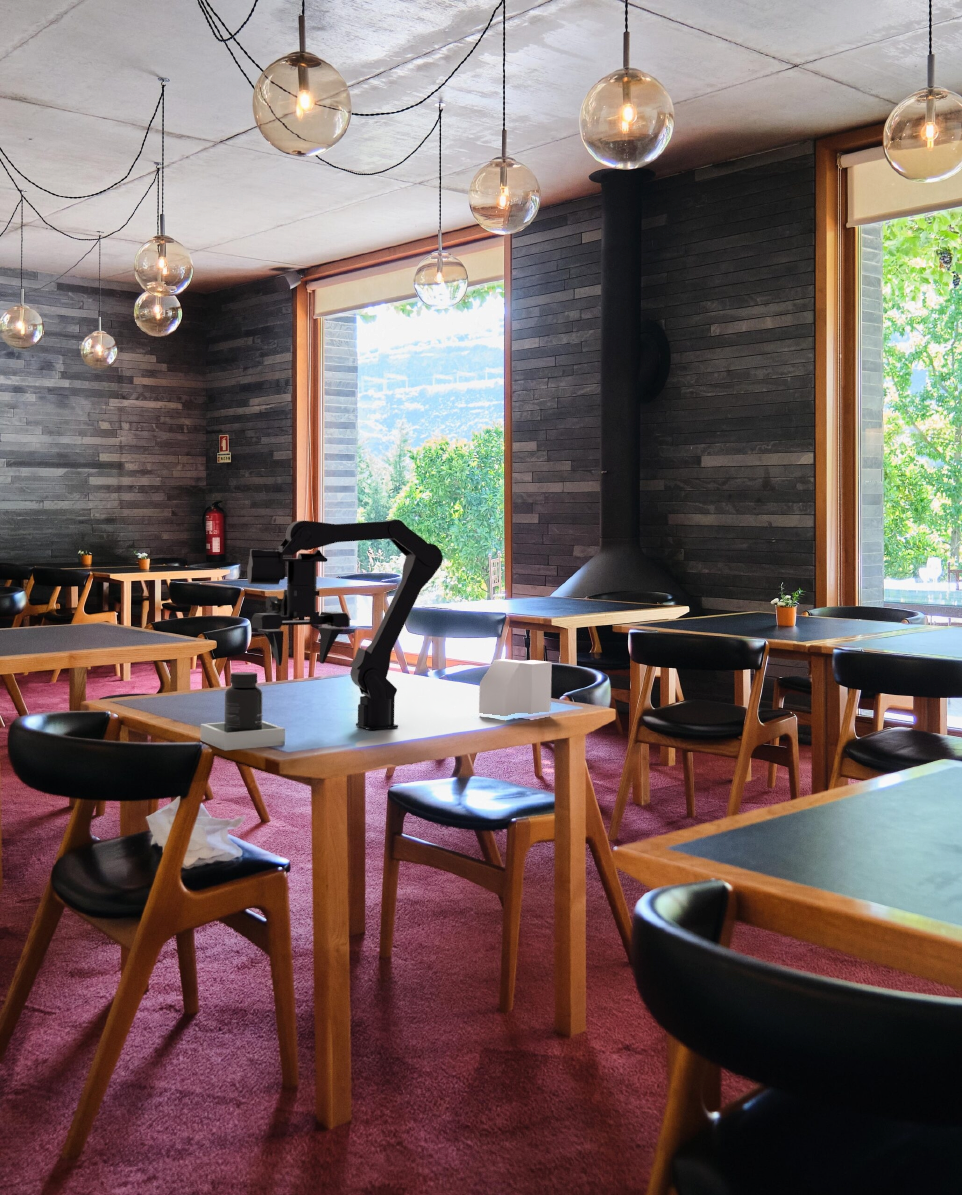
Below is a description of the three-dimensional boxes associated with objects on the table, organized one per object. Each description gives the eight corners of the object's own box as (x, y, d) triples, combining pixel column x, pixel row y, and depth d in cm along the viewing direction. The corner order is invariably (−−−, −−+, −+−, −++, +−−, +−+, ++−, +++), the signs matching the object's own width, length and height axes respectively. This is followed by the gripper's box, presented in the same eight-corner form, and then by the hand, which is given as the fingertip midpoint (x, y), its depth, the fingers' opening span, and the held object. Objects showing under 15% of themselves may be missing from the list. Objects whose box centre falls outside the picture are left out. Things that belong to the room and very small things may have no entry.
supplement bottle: (267, 739, 208) (268, 674, 207) (231, 742, 204) (231, 676, 204) (254, 733, 214) (255, 670, 213) (219, 736, 210) (219, 671, 209)
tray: (258, 735, 217) (259, 719, 217) (284, 744, 207) (285, 728, 207) (200, 740, 210) (200, 724, 210) (224, 750, 201) (224, 733, 201)
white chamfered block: (550, 717, 246) (551, 662, 246) (517, 722, 238) (518, 665, 237) (512, 711, 253) (513, 657, 253) (479, 716, 245) (480, 661, 244)
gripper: (325, 582, 234) (324, 658, 234) (240, 583, 223) (239, 662, 224) (351, 585, 224) (350, 663, 225) (263, 586, 214) (262, 668, 215)
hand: (300, 664), depth 222 cm, fingers open, 9 cm apart
